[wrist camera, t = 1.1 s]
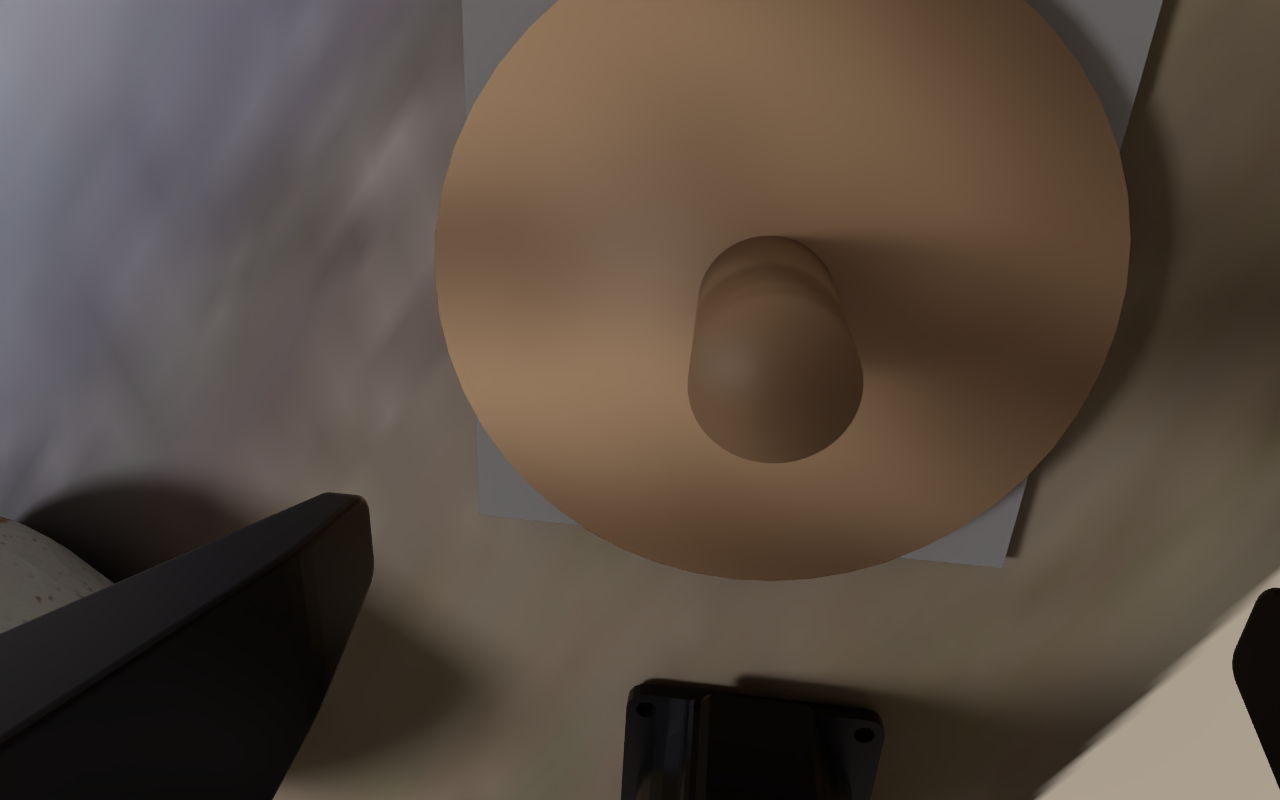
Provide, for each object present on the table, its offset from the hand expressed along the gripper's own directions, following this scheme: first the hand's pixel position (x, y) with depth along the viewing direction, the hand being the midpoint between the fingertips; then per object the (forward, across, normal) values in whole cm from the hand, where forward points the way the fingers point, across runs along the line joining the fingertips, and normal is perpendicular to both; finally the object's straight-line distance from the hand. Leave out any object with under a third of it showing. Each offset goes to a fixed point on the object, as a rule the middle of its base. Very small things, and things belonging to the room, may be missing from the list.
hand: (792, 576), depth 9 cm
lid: (+9, 0, 0) cm, 9 cm away
